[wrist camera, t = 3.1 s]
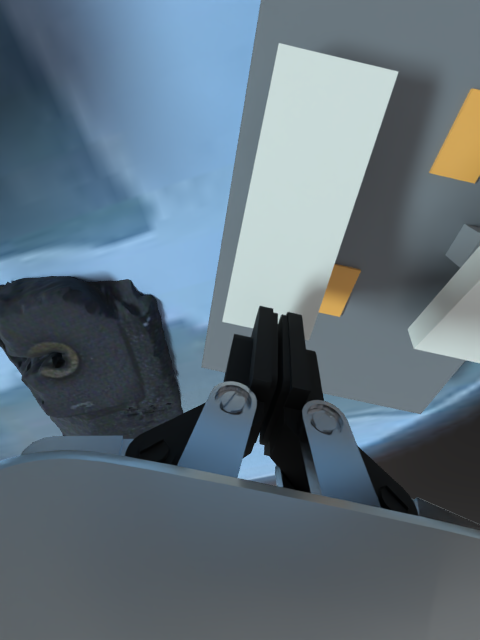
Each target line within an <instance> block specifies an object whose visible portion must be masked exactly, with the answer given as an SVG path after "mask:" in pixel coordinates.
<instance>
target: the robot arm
mask: <svg viewBox="0 0 480 640" xmlns="http://www.w3.org/2000/svg"><path fill="white" fill-rule="evenodd" d="M259 433H260V444H262V445H265V447H264V455H267V456H270V458H271V459H272V460H273V461H274V462H275V464H276V467H275V475H276V483H277V486H273V485H268V484H263V483H259V482H254V481H249V480H244V479H239V478H237V477H238V473H239V470H240V466H241V462H242V459H243V458H244V457H246V456H247V455H249V454H250V453H251V451H252V449H253V446H254V443H256V441H257V438H258V435H259ZM0 640H480V524H477V523H475V522H473V521H471V520H468V519H466V518H463V517H461V516H459V515H457V514H454V513H452V512H450V511H447V510H445V509H443V508H440V507H438V506H436V505H433V504H431V503H429V502H427V501H424V500H422V499H420V498H416V499H415V500H413V499H411V497H410V496H409V494H408V493H407V492H406V491H405V490H404V489H403V488H402V487H401V486H400V485H399V484H398V483H397V482H396V481H394V480H393V479H392V478H391V477H390V476H389V475H388V474H387V473H386V472H385V471H384V470H383V469H382V468H380V467H379V466H378V465H377V464H376V463H375V462H374V461H373V460H372V459H371V458H370V457H369V456H368V455H367V454H366V453H364V452H363V451H362V450H361V449H360V448H359V447H358V446H357V444H356V441H355V439H354V436H353V434H352V431H351V428H350V426H349V423H348V421H347V419H346V417H345V415H344V414H343V413H342V412H341V411H340V410H339V409H338V408H337V407H336V406H334V405H333V404H331V403H328V402H326V401H324V398H323V392H322V386H321V379H320V373H319V367H318V361H317V355H316V352H315V351H312V350H307V349H306V345H305V336H304V328H303V319H302V315H300V314H295V313H291V312H287V314H286V315H283V314H282V315H281V317H280V320H279V323H278V313H274V312H273V308H268V307H264V306H259V309H258V312H257V316H256V320H255V324H254V327H253V331H252V335H251V337H248V336H243V335H238V334H234V336H233V340H232V345H231V349H230V354H229V358H228V363H227V368H226V372H225V377H224V382H223V383H219V384H218V385H216V386H215V387H214V388H213V390H212V391H211V393H210V395H209V397H208V399H207V401H206V403H204V404H202V405H200V406H198V407H196V408H194V409H191V410H189V411H187V412H185V413H183V414H181V415H179V416H177V417H175V418H173V419H171V420H169V421H167V422H165V423H163V424H160V425H158V426H156V427H154V428H152V429H150V430H148V431H146V432H144V433H142V434H140V435H139V436H137V437H136V438H134V439H123V436H52V437H46V438H42V439H40V440H37V441H35V442H33V443H32V444H30V445H29V446H28V447H27V448H25V449H24V451H23V452H22V453H21V455H20V456H16V457H12V458H8V459H5V460H1V461H0Z"/></svg>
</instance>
